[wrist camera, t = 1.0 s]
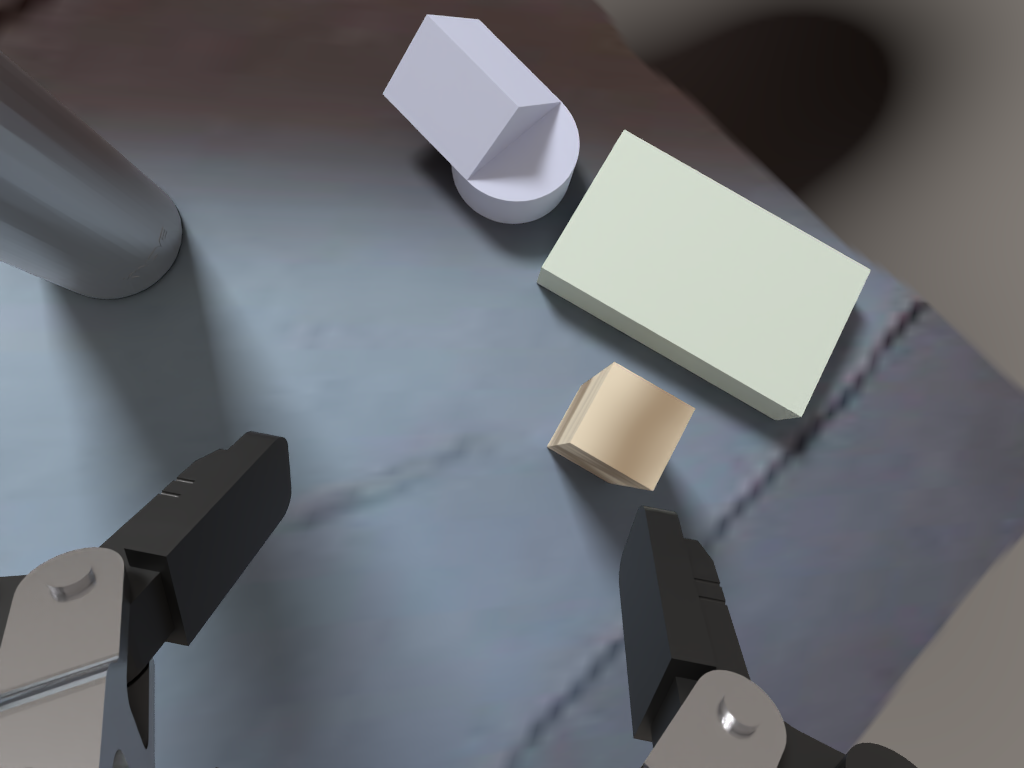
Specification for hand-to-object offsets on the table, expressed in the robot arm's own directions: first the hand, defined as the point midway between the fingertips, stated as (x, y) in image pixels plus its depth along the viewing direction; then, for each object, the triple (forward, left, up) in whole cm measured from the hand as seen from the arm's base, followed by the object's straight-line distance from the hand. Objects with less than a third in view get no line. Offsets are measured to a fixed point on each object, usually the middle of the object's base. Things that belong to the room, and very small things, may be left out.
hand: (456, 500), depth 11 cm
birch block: (+6, +7, -24) cm, 25 cm away
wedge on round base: (-11, +22, -24) cm, 34 cm away
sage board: (+7, +20, -24) cm, 32 cm away
